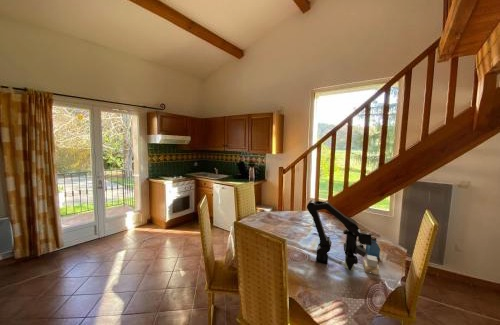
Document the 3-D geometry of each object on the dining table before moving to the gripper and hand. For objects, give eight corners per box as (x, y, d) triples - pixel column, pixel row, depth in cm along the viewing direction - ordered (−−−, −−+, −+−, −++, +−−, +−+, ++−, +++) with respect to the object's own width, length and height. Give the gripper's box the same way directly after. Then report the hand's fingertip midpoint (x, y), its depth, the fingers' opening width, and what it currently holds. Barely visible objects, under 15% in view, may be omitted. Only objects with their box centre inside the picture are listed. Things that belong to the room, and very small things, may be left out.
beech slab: (365, 272, 125) (365, 266, 124) (363, 265, 131) (363, 259, 131) (378, 275, 122) (379, 268, 122) (376, 268, 129) (376, 262, 128)
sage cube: (345, 268, 127) (345, 261, 127) (344, 264, 132) (345, 257, 131) (353, 270, 126) (354, 263, 125) (352, 266, 130) (353, 259, 130)
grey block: (367, 265, 125) (367, 259, 124) (366, 260, 129) (366, 254, 129) (377, 267, 123) (377, 261, 122) (375, 262, 127) (376, 256, 127)
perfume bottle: (369, 256, 140) (370, 239, 139) (365, 251, 146) (367, 235, 145) (379, 257, 139) (380, 240, 138) (375, 252, 145) (376, 236, 144)
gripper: (369, 252, 115) (366, 278, 117) (363, 237, 133) (361, 260, 135) (346, 248, 119) (344, 273, 121) (344, 233, 136) (342, 256, 138)
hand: (349, 265), depth 129 cm, fingers open, 9 cm apart
